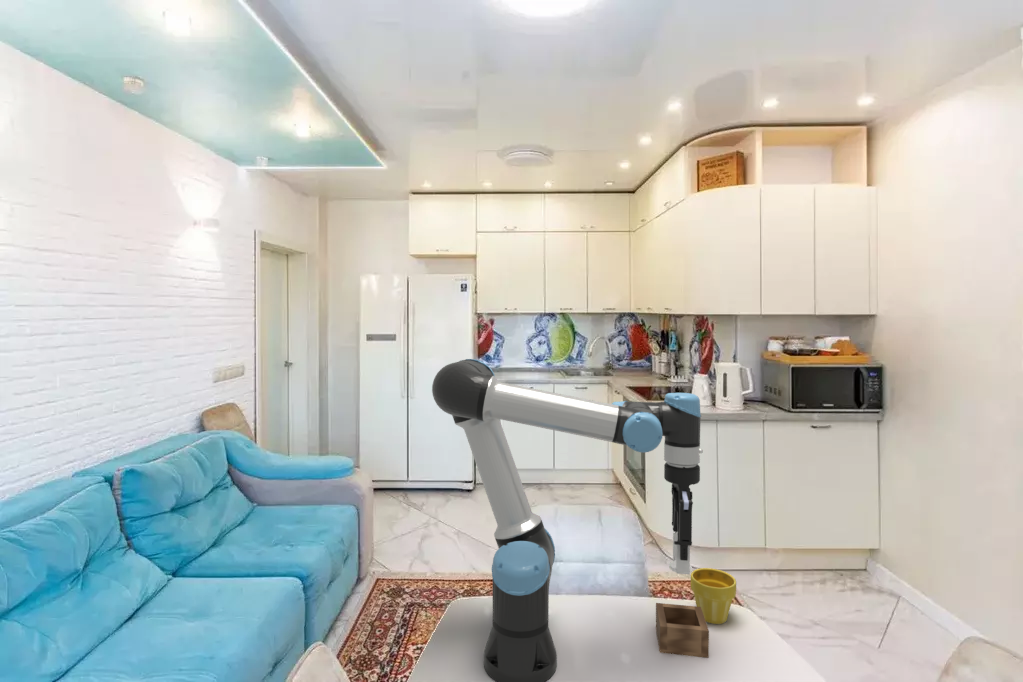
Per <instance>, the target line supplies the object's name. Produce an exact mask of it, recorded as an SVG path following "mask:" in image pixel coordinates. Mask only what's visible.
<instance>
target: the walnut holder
mask: <svg viewBox="0 0 1023 682" xmlns="http://www.w3.org/2000/svg"><path fill="white" fill-rule="evenodd" d="M655 631H656V637H657V644H658V649H659V650H658V651H659V654H668V655H674V656H675V655H676V656H677V655H678V656H686V657H696V658H704V659H705V658H706V659H709V657H710V655H709V654H710V653H709V651H710V650H709V647H710V646H709V645H710V639H709V638H710V630H709V626H708V624H707V622H706V621H705V618H704V615H703V612H702V609H701V607H697V606H696V605H686V604H685V605H683V604H682V605H681V604H673V603H663V602H661V603H660V602H656V603H655Z"/></svg>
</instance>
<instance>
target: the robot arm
mask: <svg viewBox="0 0 1023 682" xmlns="http://www.w3.org/2000/svg"><path fill="white" fill-rule="evenodd" d="M431 393H432V397H433V400H434V402H435V404H436V406H438V407H439V408H440V409H441V410H442V411H443V412H444V413H446V414H448V415H450V416H452V419H453V421H454V424H455V426H458V427H460V428H462V429H463V430H464V433H465V437H466V439H467V441H468V442H467V443H468V445H469V448H470V450H471V454H472V456H473V459H474V462H475V464H476V468H477V470H478V473H479V477H480V478H481V481H482V485H483V488H484V490H485V494H486V496H487V499H488V502H489V504H490V508H491V511H492V513H493V517H494V519H495V523H496V524H497V527H496V529H495V531H494V534H493V536H494V539H495V542H496V545H497V548H498V549H497V550H496V551H495V552H494V555H493V558H492V564H491V576H492V626H491V629H490V633H489V635H488V639H487V642H486V645H485V648H484V653H483V667H484V670H485V672H486V673H487V675H488V677H490V678H491V679H492V680H494V681H496V682H546V681H547V680H549V679H550V678H551V677H553V676H554V674H555V673H556V670H557V665H558V663H557V661H558V660H557V659H558V655H557V654H558V653H557V650H556V646H555V643H554V639H553V636H552V634H551V631H550V628H549V608H550V607H549V604H550V603H549V601H550V599H549V594H550V591H549V590H550V583H551V577H552V572H553V571H552V570H553V565H554V562H555V558H556V553H555V552H556V547H555V543H554V540H553V537H552V536H551V533H550V532H549V531H548V529H546V528H545V526H544V522H543V519H542V517H541V515H538V514H537V513H534V512H533V511H532V509H531V505H530V503H529V500H528V497H527V494H526V491H525V488H524V485H523V483H522V480H521V477H520V474H519V472H518V469H517V466H516V463H515V459H514V458H513V454H512V452H511V448H510V445H509V443H508V440H507V437H506V435H505V431H504V429H503V426H502V422H501V421H500V420H502V421H507V422H511V423H512V422H513V423H517V424H522V425H526V426H531V427H536V428H541V429H547V430H552V431H555V432H561V433H566V434H571V435H576V436H579V437H585V438H590V439H596V440H601V441H604V442H610V443H613V444H614V443H615V444H618V445H621V446H622V445H623V446H627V447H628V448H629V449H631V450H633V451H635V452H638V453H649V452H652V451H654V450H655V449H657V448H658V447H659V446H660V444H661V442H662V439H663V437H664V445H663V446H664V447H663V449H664V450H663V451H664V452H663V454H664V455H663V457H664V458H663V460H664V461H665V463H664V466H663V467H664V470H663V472H664V473H663V474H664V476H663V477H664V480H665V481H666V482H668V483H671V491H670V492H671V495H672V497H671V499H672V500H671V505H672V507H671V511H672V512H671V513H672V514H671V525H672V531H673V532H672V540H673V541H672V561H675V560H676V572H675V573H676V574H680V575H682V574H683V575H691V572H690V565H691V560H690V559H691V547H692V545H693V541H692V535H693V534H692V533H693V530H692V529H693V526H692V525H693V505H694V502H693V491H691V488H690V486H691V485H697V484H698V483H699V482H700V481H701V466H700V465H699V463H700V462H701V461H700V460H701V459H700V458H701V455H700V454H702V453H703V451H704V450H703V449H702V448H701V446H700V445H701V417H702V415H701V414H702V413H701V400H700V398H699V396H698V395H696V394H695V393H689V392H668V393H666V394H665V396H664V400H663V401H660V402H658V401H657V402H656V401H655V402H654V401H653V402H652V401H651V402H650V401H629V400H624V401H613V402H611V403H607V402H603V401H596V400H593V399H592V400H591V399H587V398H583V397H582V398H581V397H577V396H572V395H566V394H561V393H557V392H552V391H547V390H542V389H536V388H531V387H527V386H523V385H522V386H521V385H517V384H511V383H507V382H501V381H499V380H498V378H497V377H496V375H495V372H494V371H493V370H492V368H491V366H490V365H488V364H487V363H485V362H483V361H481V360H478V359H474V358H466V359H461V360H459V361H455V362H452V363H448V364H446V365H444V366H443V367H442V368H441V369H440V370H439V371H438V372H437V373H436V375H435V377H434V379H433V382H432V386H431ZM676 532H678V537H677V534H676Z"/></svg>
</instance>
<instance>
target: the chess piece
mask: <svg viewBox="0 0 1023 682" xmlns="http://www.w3.org/2000/svg"><path fill="white" fill-rule="evenodd" d="M676 534H677V537H678V532H676ZM668 565H669V566H668V567H669V570H670V571H672V572H674V573H676V560H675V561H673V560H672V561H670V562H669V564H668ZM692 572H693V567H692V565H691V564H690V573H692Z"/></svg>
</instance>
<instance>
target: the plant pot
mask: <svg viewBox="0 0 1023 682" xmlns="http://www.w3.org/2000/svg"><path fill="white" fill-rule="evenodd" d="M690 589H691V591H692V592H693V595H694V601H695V606H697V607H701V609H702V612H703V615H704V618H705V621H706V623H709V624H713V625H722V624H725V623H726V622H727V620H728V616H729V613H730V609H731V605H732V602H733V599H735V598H736V595H737V581H736V578H735V577H734V576H733V575H732V574H730V573H729V572H726V571H724V570H722V569H717V568H710V567H700V568H696V569H693V570H692V572H690Z"/></svg>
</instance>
